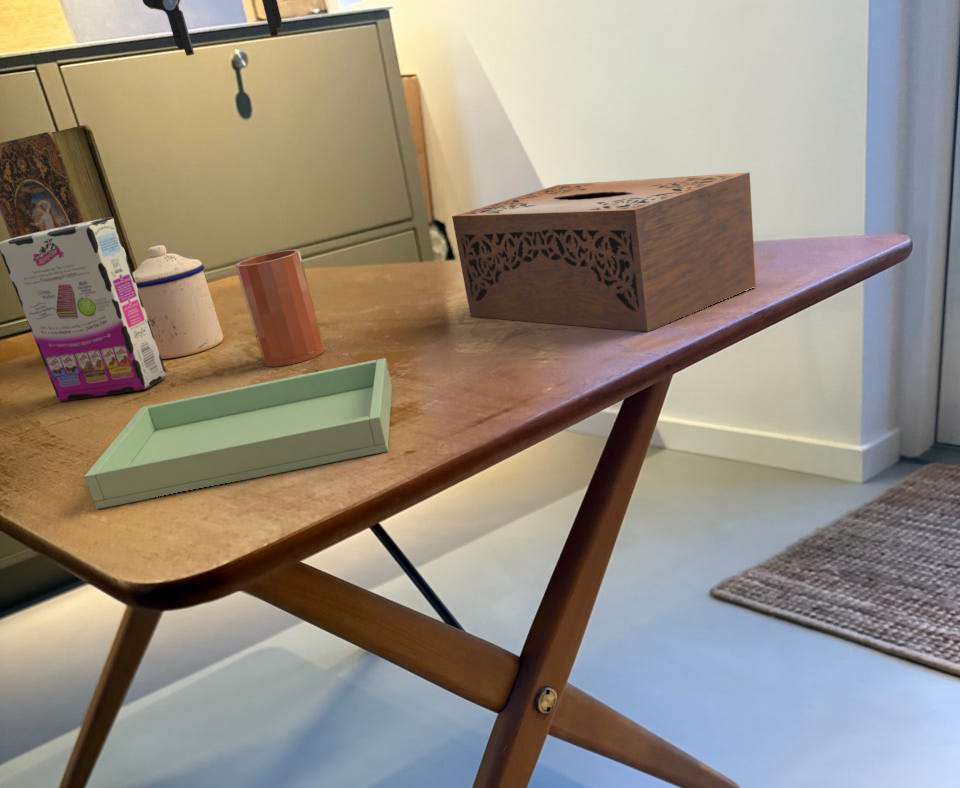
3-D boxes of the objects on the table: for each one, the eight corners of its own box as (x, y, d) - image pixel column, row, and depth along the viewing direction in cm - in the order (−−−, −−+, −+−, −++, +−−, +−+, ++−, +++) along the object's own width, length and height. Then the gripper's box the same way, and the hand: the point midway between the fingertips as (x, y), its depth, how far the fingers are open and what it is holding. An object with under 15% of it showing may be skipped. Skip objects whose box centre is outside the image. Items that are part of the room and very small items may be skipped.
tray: (96, 509, 75) (83, 476, 73) (150, 436, 90) (140, 407, 89) (387, 451, 74) (379, 416, 72) (392, 387, 89) (385, 357, 88)
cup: (260, 370, 105) (231, 269, 100) (268, 355, 110) (240, 259, 105) (321, 358, 104) (295, 255, 100) (326, 344, 110) (301, 246, 105)
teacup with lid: (226, 333, 127) (196, 233, 121) (226, 347, 119) (194, 241, 113) (128, 356, 125) (94, 256, 120) (123, 371, 117) (85, 266, 112)
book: (50, 357, 134) (-30, 150, 122) (84, 345, 138) (10, 142, 126) (128, 356, 125) (49, 131, 113) (162, 342, 129) (90, 123, 117)
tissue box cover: (470, 316, 109) (452, 216, 104) (570, 280, 115) (557, 184, 110) (647, 331, 89) (635, 210, 85) (755, 287, 96) (749, 172, 91)
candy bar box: (170, 376, 110) (116, 214, 102) (147, 391, 106) (88, 223, 98) (82, 388, 114) (23, 232, 106) (56, 402, 109) (-7, 241, 101)
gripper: (256, -162, 98) (302, 33, 106) (108, -132, 97) (165, 62, 105) (253, -181, 91) (303, 28, 99) (95, -149, 91) (157, 59, 98)
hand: (232, 45), depth 102 cm, fingers open, 8 cm apart
